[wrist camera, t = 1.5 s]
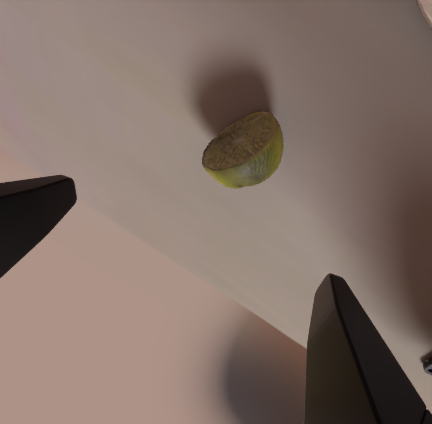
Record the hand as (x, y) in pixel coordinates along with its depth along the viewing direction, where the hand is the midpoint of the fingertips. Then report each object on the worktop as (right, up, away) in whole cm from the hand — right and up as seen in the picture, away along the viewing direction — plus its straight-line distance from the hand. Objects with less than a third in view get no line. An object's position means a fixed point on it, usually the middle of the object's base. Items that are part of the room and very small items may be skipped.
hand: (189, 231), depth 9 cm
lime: (+3, +6, +9) cm, 11 cm away
